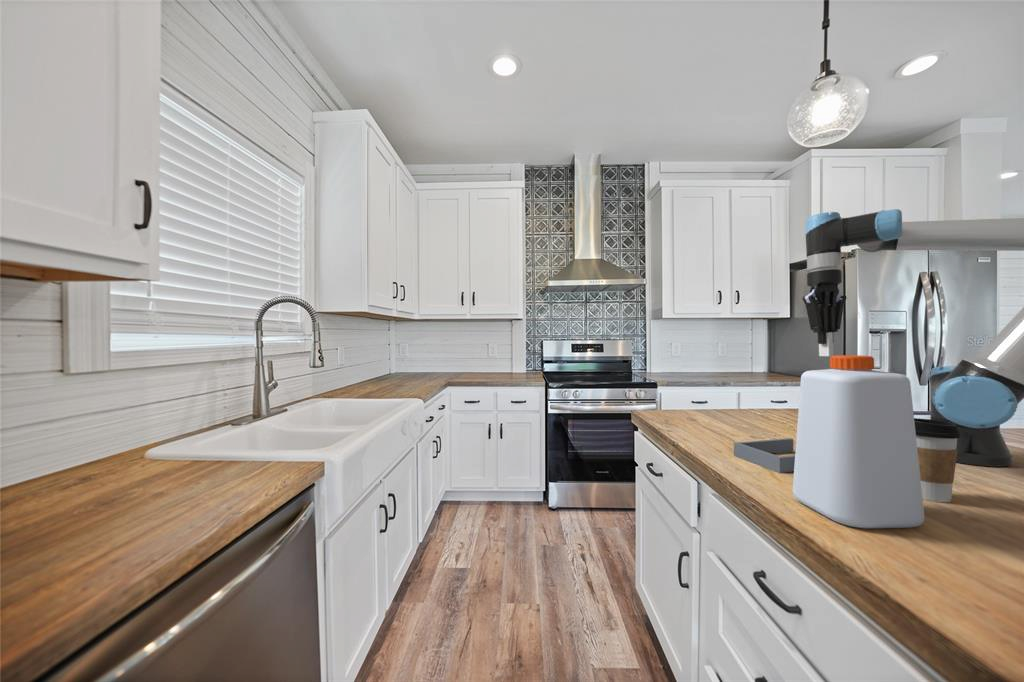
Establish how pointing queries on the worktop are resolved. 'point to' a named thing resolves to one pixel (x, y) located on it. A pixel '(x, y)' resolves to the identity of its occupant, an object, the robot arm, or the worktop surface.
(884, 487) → the plastic bottle
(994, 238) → the robot arm
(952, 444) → the coffee cup
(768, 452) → the grey shallow tray
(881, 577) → the worktop surface
